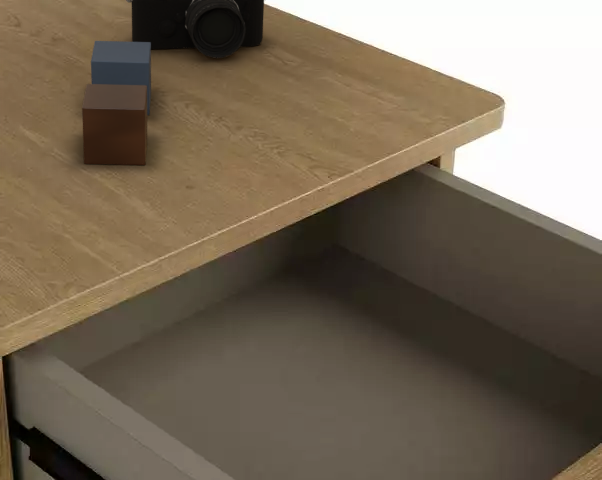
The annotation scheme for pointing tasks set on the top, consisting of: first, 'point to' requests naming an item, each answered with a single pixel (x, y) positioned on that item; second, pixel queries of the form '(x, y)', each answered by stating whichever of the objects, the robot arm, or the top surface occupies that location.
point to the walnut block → (115, 124)
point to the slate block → (122, 64)
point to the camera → (198, 24)
